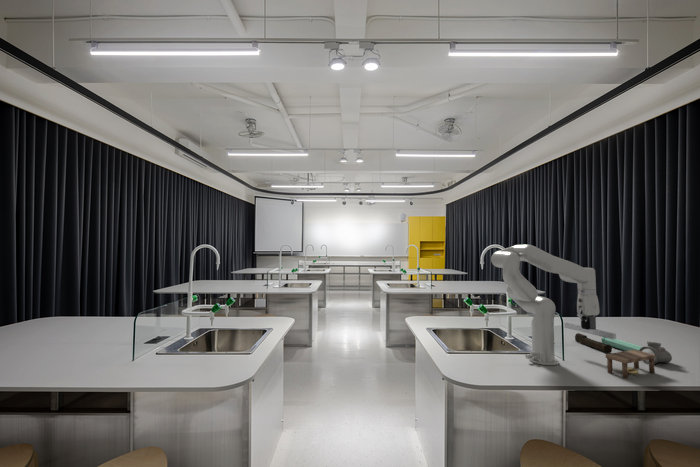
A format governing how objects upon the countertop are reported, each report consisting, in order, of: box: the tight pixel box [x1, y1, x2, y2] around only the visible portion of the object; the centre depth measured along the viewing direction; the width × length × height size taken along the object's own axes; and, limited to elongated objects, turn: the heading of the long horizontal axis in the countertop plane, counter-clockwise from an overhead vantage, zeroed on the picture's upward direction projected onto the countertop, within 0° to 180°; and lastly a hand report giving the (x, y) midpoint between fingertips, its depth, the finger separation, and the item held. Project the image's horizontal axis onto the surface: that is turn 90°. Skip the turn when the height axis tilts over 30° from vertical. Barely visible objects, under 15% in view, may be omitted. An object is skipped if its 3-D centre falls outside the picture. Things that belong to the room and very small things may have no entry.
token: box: [628, 366, 639, 376], centre depth 146 cm, size 5×5×2 cm
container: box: [601, 337, 643, 352], centre depth 175 cm, size 6×6×25 cm
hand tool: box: [574, 332, 613, 354], centre depth 183 cm, size 23×5×6 cm, turn 3°
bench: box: [605, 350, 655, 380], centre depth 146 cm, size 20×8×8 cm, turn 109°
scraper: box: [564, 316, 617, 339], centre depth 164 cm, size 4×24×8 cm, turn 19°
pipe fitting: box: [639, 341, 673, 365], centre depth 158 cm, size 12×8×10 cm
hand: (588, 328), depth 164 cm, fingers closed on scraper, 3 cm apart
